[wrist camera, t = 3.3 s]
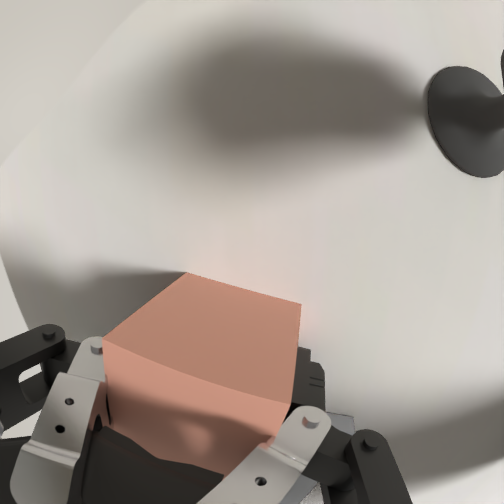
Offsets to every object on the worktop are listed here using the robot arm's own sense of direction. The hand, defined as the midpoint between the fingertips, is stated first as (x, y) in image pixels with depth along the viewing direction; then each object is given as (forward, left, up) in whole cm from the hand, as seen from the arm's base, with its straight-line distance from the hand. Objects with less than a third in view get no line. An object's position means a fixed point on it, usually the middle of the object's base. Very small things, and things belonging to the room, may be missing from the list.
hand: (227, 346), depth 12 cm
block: (0, 0, -1) cm, 1 cm away
